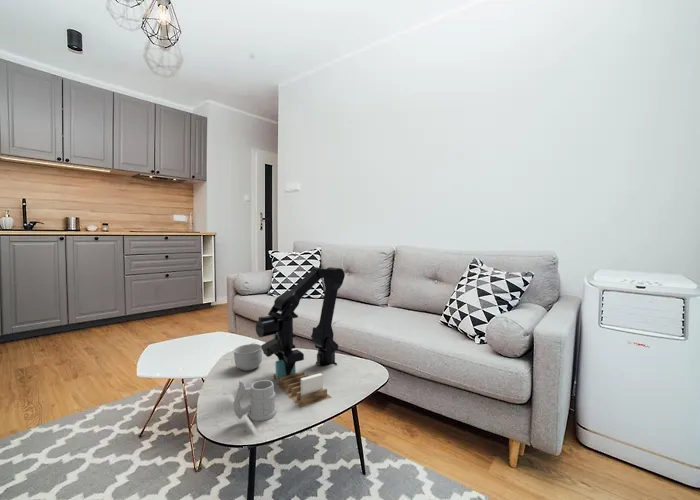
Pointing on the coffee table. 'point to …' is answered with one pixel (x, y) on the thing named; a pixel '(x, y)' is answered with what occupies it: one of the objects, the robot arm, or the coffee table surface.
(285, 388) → the rack
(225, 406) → the coffee table surface
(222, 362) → the coffee table surface
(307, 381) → the cream plate
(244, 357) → the teacup
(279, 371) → the teal rectangular prism
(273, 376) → the wooden slats
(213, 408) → the coffee table surface
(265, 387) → the mug
